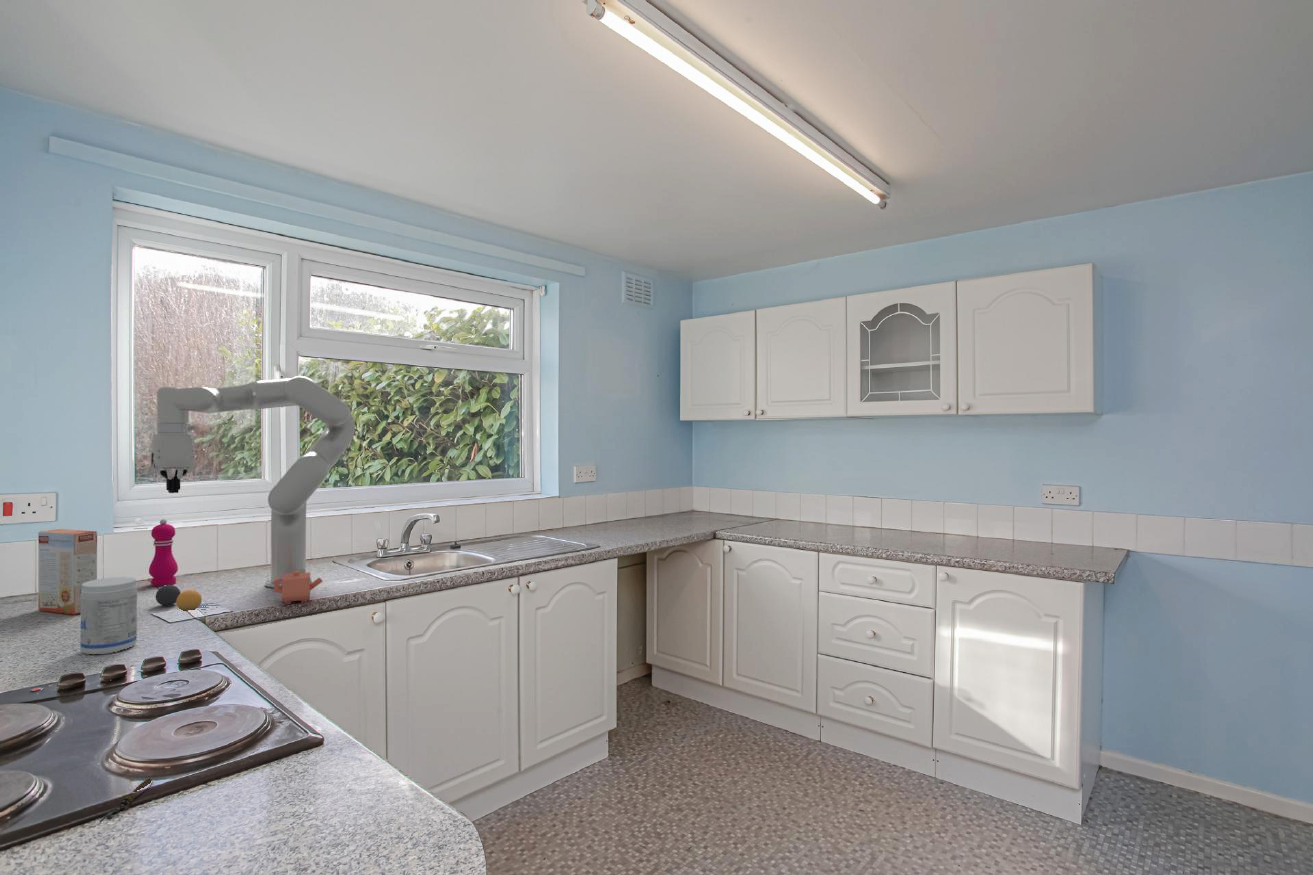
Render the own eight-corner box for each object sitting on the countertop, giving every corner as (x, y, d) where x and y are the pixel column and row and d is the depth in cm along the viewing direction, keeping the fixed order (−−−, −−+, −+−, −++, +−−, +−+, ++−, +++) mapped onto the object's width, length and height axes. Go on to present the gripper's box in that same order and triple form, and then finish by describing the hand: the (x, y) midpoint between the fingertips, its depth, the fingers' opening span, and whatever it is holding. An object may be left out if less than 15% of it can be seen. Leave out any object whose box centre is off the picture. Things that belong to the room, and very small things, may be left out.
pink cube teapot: (322, 602, 189) (322, 572, 189) (273, 606, 184) (273, 576, 184) (322, 595, 196) (322, 567, 196) (275, 600, 191) (275, 570, 191)
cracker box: (99, 610, 179) (98, 530, 179) (72, 615, 174) (72, 533, 174) (63, 605, 184) (63, 527, 184) (37, 611, 178) (36, 530, 178)
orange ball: (195, 602, 183) (203, 613, 180) (171, 606, 178) (179, 617, 175) (198, 584, 182) (206, 594, 179) (175, 587, 177) (182, 598, 174)
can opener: (144, 786, 91) (144, 778, 91) (162, 786, 92) (162, 777, 92) (92, 826, 82) (92, 816, 82) (112, 825, 83) (112, 816, 83)
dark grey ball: (176, 584, 188) (182, 603, 188) (152, 590, 185) (157, 610, 184) (178, 580, 184) (183, 600, 184) (153, 587, 181) (159, 606, 180)
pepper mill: (183, 581, 213) (183, 517, 213) (164, 587, 206) (164, 520, 205) (162, 581, 214) (162, 517, 213) (142, 586, 206) (142, 520, 206)
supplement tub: (76, 649, 147) (75, 581, 147) (130, 639, 154) (130, 574, 154) (86, 659, 141) (86, 588, 141) (142, 648, 148) (142, 580, 148)
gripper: (197, 429, 207) (197, 490, 207) (137, 429, 195) (137, 493, 195) (207, 429, 202) (207, 491, 202) (146, 429, 190) (146, 495, 190)
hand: (173, 492), depth 199 cm, fingers closed
